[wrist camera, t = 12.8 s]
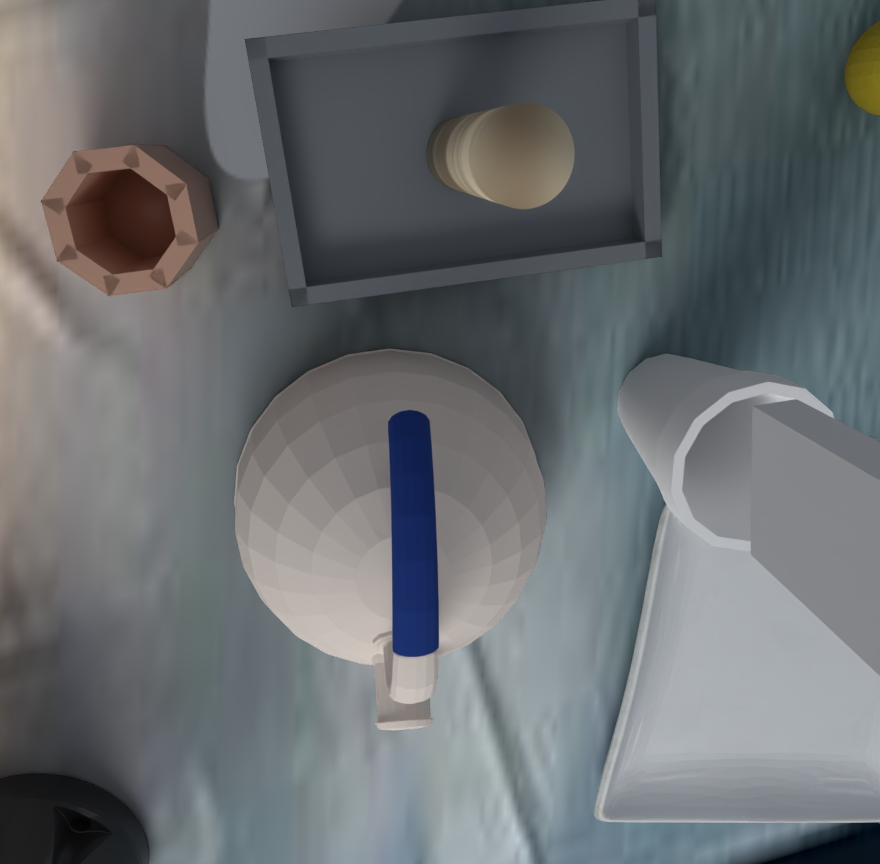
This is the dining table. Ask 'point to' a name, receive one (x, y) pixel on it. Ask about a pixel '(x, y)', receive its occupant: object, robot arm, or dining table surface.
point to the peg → (504, 154)
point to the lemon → (865, 71)
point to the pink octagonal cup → (129, 217)
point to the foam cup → (701, 438)
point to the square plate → (738, 701)
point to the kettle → (390, 515)
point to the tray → (419, 113)
